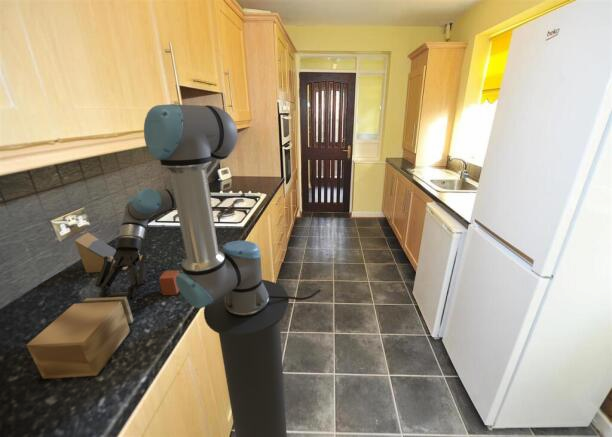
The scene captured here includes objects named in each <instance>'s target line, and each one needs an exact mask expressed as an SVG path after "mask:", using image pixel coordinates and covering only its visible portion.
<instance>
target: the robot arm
mask: <svg viewBox="0 0 612 437" xmlns="http://www.w3.org/2000/svg"><path fill="white" fill-rule="evenodd" d="M238 136H239V135H238V128H237V124H236V122H235V121H234V119H233V117H232V116H231V115H230V114H229V113H228V112H227V111H226V110H224V109H222V108H221V107H219V106H216V105H208V104H207V105H196V104H195V105H194V104H177V103H171V104H168V103H167V104H157V105H154V106H152V107H151V108H150V109H149V110H148V112H147V113H146V116H145V118H144V123H143V137H144V143H145V147H146V148H147V149H148V153H149V154H150V156H151V157H153V158H154V159H156V160H159V161H160V166H161V167H162V168H164V169H165V170H167V171H168V173H169V176H170V181H171V187H166V188H161V189H157V190H155V189H153V188H142V189H140V190H139V191H138V192H137V193H135V195H134V196H133V197H130V198H128V200H127V202H126V205H125V208H124V209H125V210H124V213H123V219H122V223H121V226H120V229H119V234H118V239H117V241H116V245H115V249H116V253H115V254H114V255H113V256H111V257H107V256H105V257H104V264H103V266H102V269H101V271H100V272H99V274H98V277H97V279H96V282H95V284H94V285H95V287H97V288H100V292H99V296H98V298H105V297H106V295H107V293H112V289H111V288H110V287H111V286H112V284H113V283H114V281H115V280H116V279H117V277H118V275H119V273H120V272H121V271H123V270H122V268H123V267H127V269H128V270H129V271H128V272H129V276H130V283H131V285H130V286H128V288H127V292H128V294H127V300H128V303H129V307H130V310H133V306H134V301H135V299H137V298H138V293H139V289H140V287H144V286H146V285H147V277H148V276H147V275H148V274H147V273H148V263H149V261H150V256H148V255H146V254H142V252H143V247H144V240H145V236H146V232H147V226H148V223H149V219H150V218H151V217H152V216H153V215H155V214H158V213H162V212H165V211H169V210H173V209H176V212H177V216H178V222H179V227H180V233H181V237H182V242H183V247H184V248H183V249H184V253H185V257H184V258H183V260H182V261H181V268H182V272H179V274H178V275H177V277H176V284H177V286H178V289H179V292H180V294H181V295H182V297H183V298H184V299H185V300H186V302H187V303H188V304H189V305H191V306H192V307H193V308H196V309H203V308H205V306H207V305H209V304H212V303H213V302H214V301H215V300H217V299H219V298H220V297H222V296H223V295H225V294H226V297H225V308H226V311H227V312H228V313H229V314H230V315H232V316H235V317H251V316H254V315H257V314H259V313H260V312H262V311H263V310H264V309H265V308H266V307H267V306H268V304H269V298H287V299H289V300H290V299H291V300H296V301H297V300H298V301H305V300H309V299H311V298H313V297H314V296H316V295H317V294H318V293H320V292H321V289H320V288H319V289H317V290H316V291H315V292H314V293H312V294H310V295H308V296H305V297H298V296H289V295H288V296H269V295H268V292H267V290H266V288H265V286H264V284H263V282H262V280H263V273H262V272H263V271H262V255H261V251H260V247H259V245H258V244H257V243H255V242H252V241H249V240H233V241H228V242H227V243H224V245H223V247H222V250H219V246H218V239H217V232H216V226H215V219H214V211H213V206H212V198H211V192H210V184H209V176H210V175H211V174H212V172H213V171H214V169H216V167H217V166H218V164H219V163H220V162H221V161H223V160H225V159H227V158H228V157H229V156H230V155H231V153H232V152H233V151H234V149H235V148H236V145H237V143H238V142H237V141H238ZM114 260H115V263H114V264H113V266H112V263H113V261H114ZM138 262H139V269H138V264H137V263H138ZM111 266H112V269H111ZM118 266H119V267H118ZM110 269H111V271H110Z"/></svg>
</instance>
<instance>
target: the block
mask: <svg viewBox="0 0 612 437" xmlns="http://www.w3.org/2000/svg"><path fill="white" fill-rule="evenodd" d="M179 273H180V270H164V271H163V273H162V274H161V275H160V276H159V278H158V281H159V285H160V290H161V293H162V294H161V295H162V296H173V295H174V296H175V295H178V294H179V292H180V291H179V289H178V286H177V284H176V277H177V275H178V274H179Z"/></svg>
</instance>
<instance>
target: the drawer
mask: <svg viewBox="0 0 612 437" xmlns="http://www.w3.org/2000/svg"><path fill="white" fill-rule="evenodd" d="M127 294H128V291H126V292H124V291H123V292H111V293H107V295H106V297H105V298H99V297H91V298H90V297H89V298H84V300H83V303H98V302H119V301H121V303H122V306H123V310H124V313H125V316H126V319H127V322H128V324H132V323H133V322H134V317H133V313H132V309H130V307H129V303H128V300H127Z"/></svg>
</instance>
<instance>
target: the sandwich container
mask: <svg viewBox="0 0 612 437" xmlns="http://www.w3.org/2000/svg"><path fill="white" fill-rule="evenodd" d="M74 244H75V246H76V249H77V252H78V254H79V257H80V259H81V262H82V265H83V268H84V271H85V273H86V274H91V273H100V271H101V269H102V266H103V264H104V257H105V256H107V257H111V256H113V255H114V254H115V253H116V248H114V247H112V246H111V245H110V244H107V243H106V242H104V241H103V240H101V239H100V238H98V237H96V236H94V235H93V234H91V233H90V232H89V231H87V232H85V233H84V234H82V235H81V236H79V237H78V238H76V239H74ZM114 263H115V260H114V261H113V263H112V266H113V264H114ZM112 266H111V269H112ZM118 267H119V266H118ZM111 269H110V271H111ZM126 269H128V267H123V268H122V270H121V271H125V270H126Z"/></svg>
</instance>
